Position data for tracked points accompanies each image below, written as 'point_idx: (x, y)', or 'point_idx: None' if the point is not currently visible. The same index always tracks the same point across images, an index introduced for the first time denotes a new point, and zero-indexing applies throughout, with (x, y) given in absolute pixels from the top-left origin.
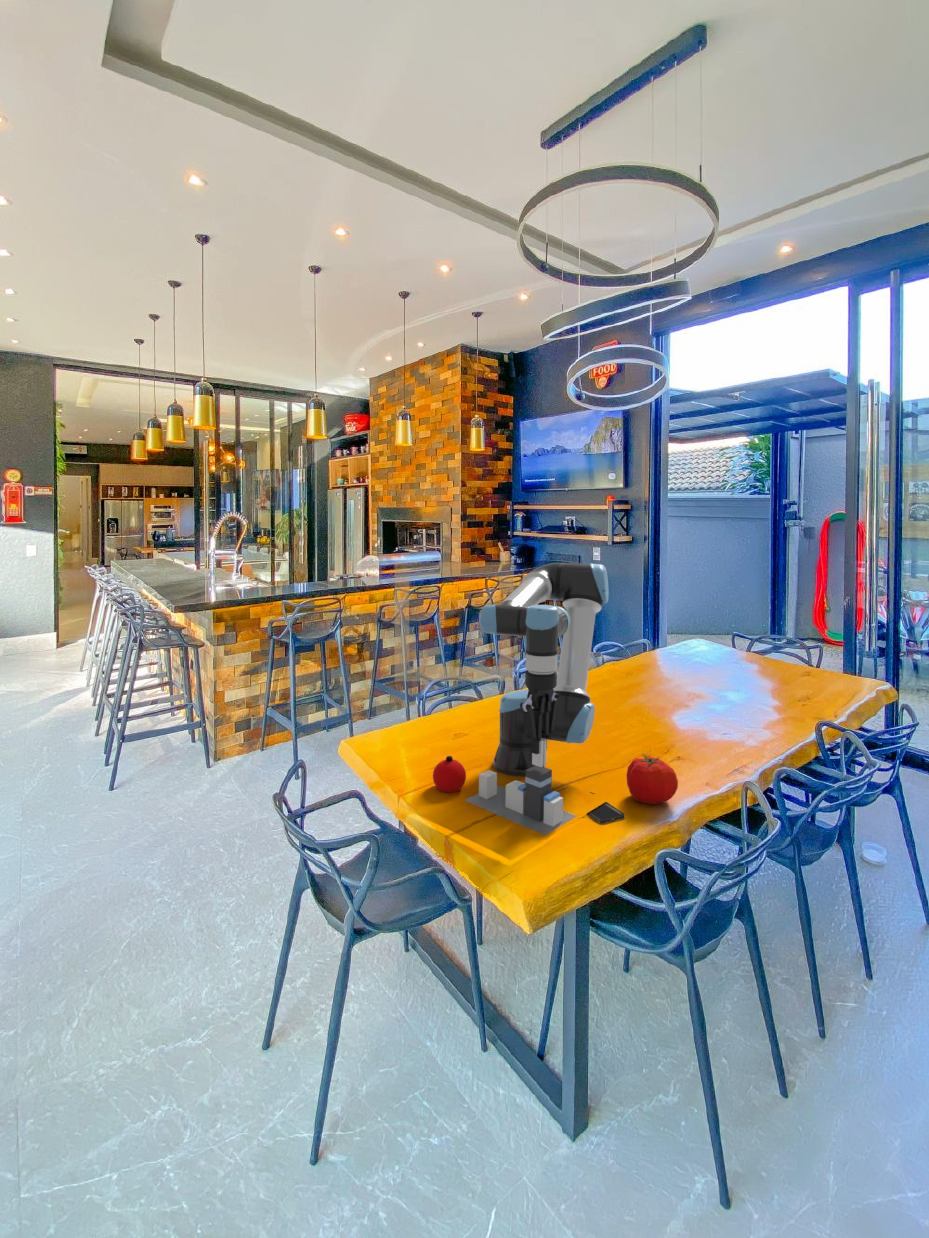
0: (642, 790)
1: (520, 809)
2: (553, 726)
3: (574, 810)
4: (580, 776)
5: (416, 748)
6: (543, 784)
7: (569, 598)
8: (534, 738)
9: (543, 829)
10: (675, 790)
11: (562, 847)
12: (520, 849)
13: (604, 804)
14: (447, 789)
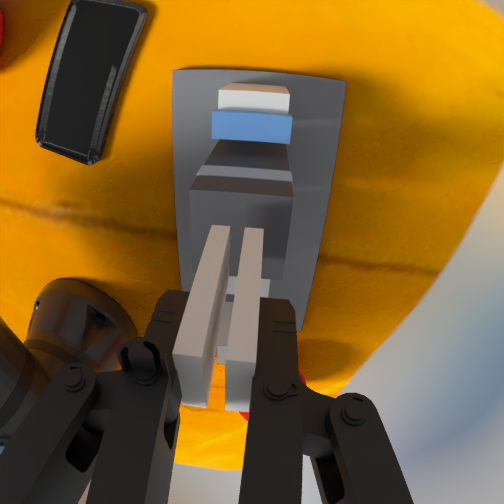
0: None
1: None
2: (40, 411)
3: (132, 108)
4: (6, 213)
5: (183, 438)
6: (268, 171)
7: None
8: (366, 417)
9: (319, 101)
10: None
11: (351, 22)
12: (424, 113)
13: (59, 70)
14: (298, 370)
